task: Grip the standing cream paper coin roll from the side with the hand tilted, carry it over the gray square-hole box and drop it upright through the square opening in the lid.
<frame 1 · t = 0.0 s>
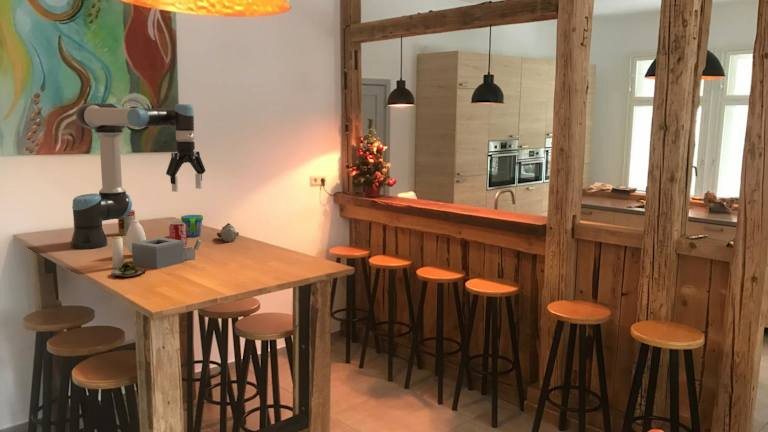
hand: (187, 190, 263), 28 cm above the table, tool pointing down, fingers open, 13 cm apart
lighter: (193, 259, 256), on the table
soda can: (178, 251, 270), on the table
ceramic sculpture: (228, 240, 297), on the table
sauce bottle: (136, 255, 261), on the table
coin roll: (118, 267, 240), on the table
gray square-hole box: (158, 263, 248), on the table
snack cup: (192, 236, 305), on the table
canned food: (127, 234, 307), on the table
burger: (128, 276, 230), on the table
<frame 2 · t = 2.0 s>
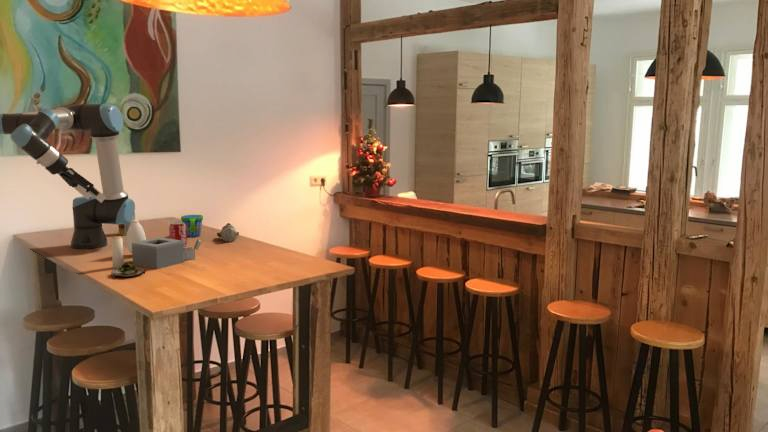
hand: (96, 198, 235), 28 cm above the table, tool tilted 45°, fingers open, 13 cm apart
nothing on the table moved.
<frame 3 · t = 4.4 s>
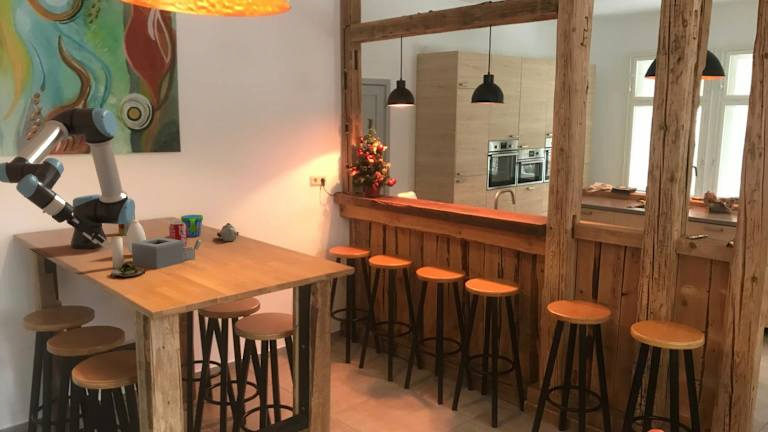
hand: (103, 244, 235), 10 cm above the table, tool tilted 45°, fingers open, 13 cm apart
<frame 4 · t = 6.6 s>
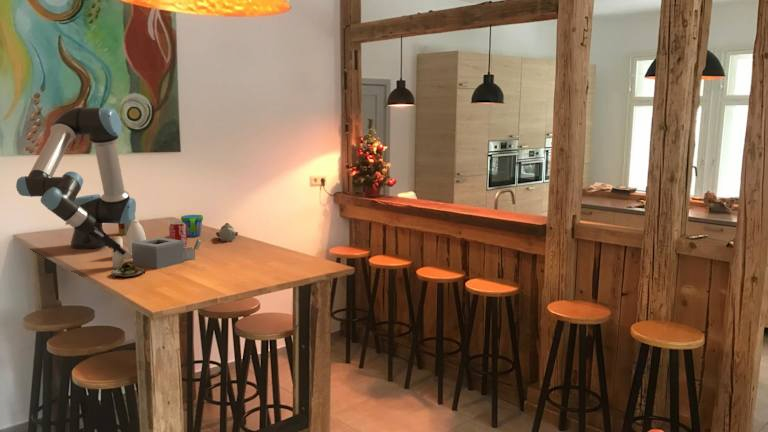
hand: (127, 256, 242), 4 cm above the table, tool tilted 45°, fingers closed on coin roll, 4 cm apart
coin roll: (118, 267, 240), on the table, touching gripper
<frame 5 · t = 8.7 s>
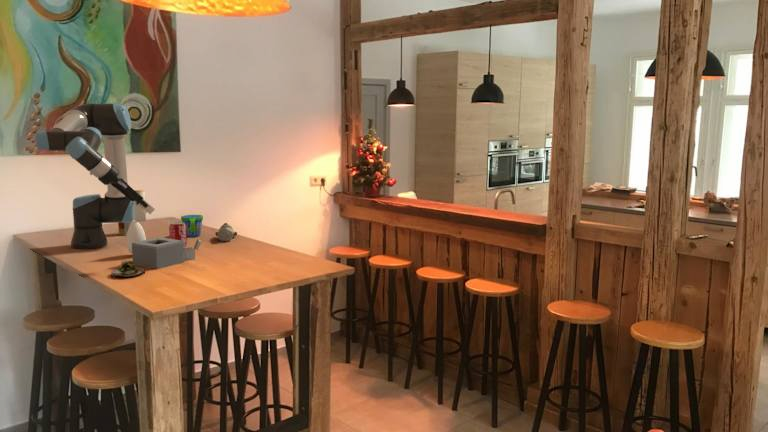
hand: (150, 210, 243), 22 cm above the table, tool tilted 45°, fingers closed on coin roll, 4 cm apart
coin roll: (140, 220, 241), point 18 cm above the table, touching gripper
when the fingers open (15 cm above the table, at t = 10.7 s): coin roll drops 10 cm, resting on gray square-hole box.
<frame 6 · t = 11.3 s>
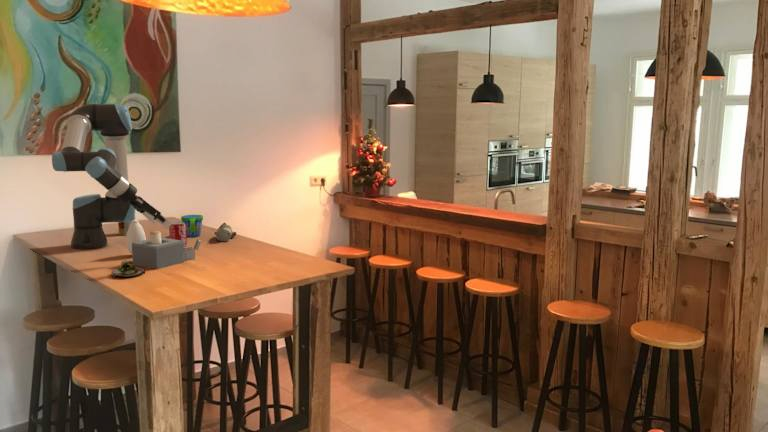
hand: (162, 223, 247), 16 cm above the table, tool tilted 45°, fingers open, 13 cm apart
coin roll: (158, 260, 248), point 1 cm above the table, tilted 10°, touching gray square-hole box
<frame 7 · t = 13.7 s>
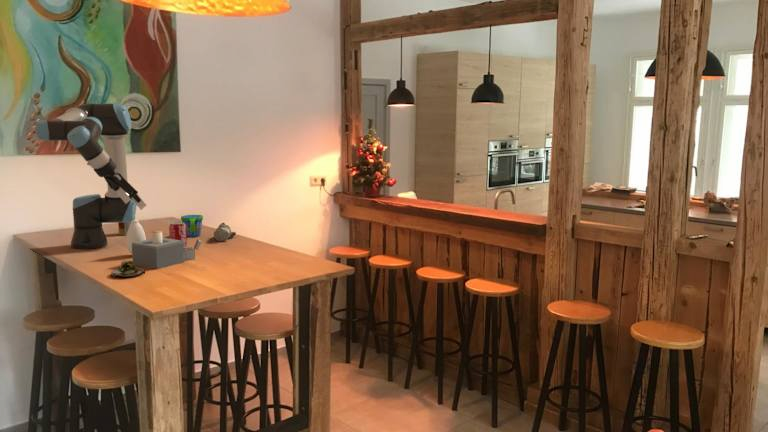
hand: (135, 204, 241), 25 cm above the table, tool tilted 35°, fingers open, 13 cm apart
coin roll: (158, 260, 248), point 1 cm above the table, touching gray square-hole box
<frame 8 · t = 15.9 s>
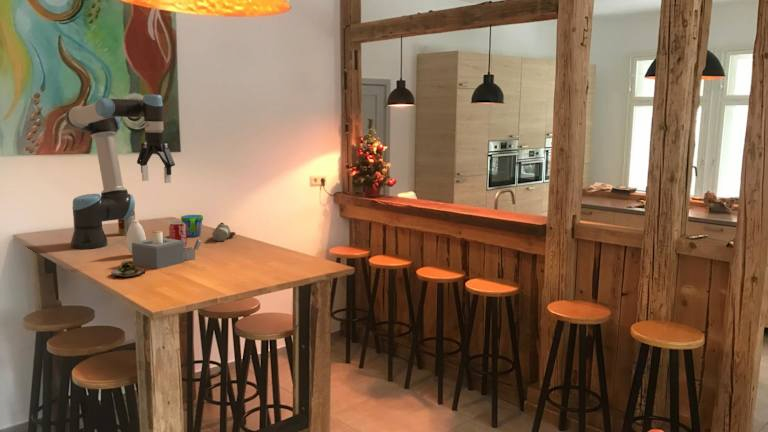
hand: (156, 181, 259), 32 cm above the table, tool pointing down, fingers open, 13 cm apart
at the end: coin roll inside the target area on the gray square-hole box (0.1 cm from its centre), point 1.0 cm above the gray square-hole box's base; the gripper is holding nothing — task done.
